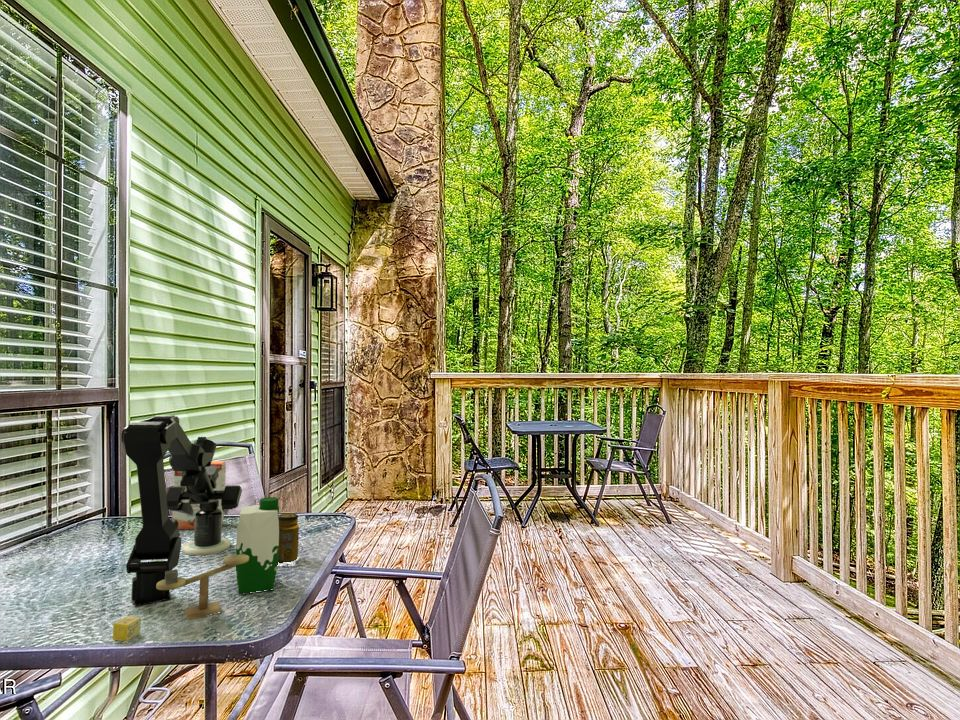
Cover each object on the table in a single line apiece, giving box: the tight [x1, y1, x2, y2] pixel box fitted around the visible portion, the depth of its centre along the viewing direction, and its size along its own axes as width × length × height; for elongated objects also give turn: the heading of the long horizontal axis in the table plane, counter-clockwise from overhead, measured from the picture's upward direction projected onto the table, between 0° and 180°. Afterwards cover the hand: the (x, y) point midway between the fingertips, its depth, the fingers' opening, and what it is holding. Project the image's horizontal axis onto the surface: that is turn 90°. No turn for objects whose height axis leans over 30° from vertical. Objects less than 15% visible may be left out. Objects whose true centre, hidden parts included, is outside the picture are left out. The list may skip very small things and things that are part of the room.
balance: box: [156, 554, 249, 621], centre depth 106 cm, size 17×5×10 cm, turn 126°
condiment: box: [278, 512, 300, 563], centre depth 137 cm, size 7×8×12 cm
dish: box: [181, 537, 231, 556], centre depth 146 cm, size 12×12×1 cm
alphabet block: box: [112, 615, 142, 642], centre depth 96 cm, size 3×3×3 cm
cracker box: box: [171, 460, 227, 530], centre depth 167 cm, size 14×6×21 cm, turn 104°
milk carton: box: [235, 496, 280, 595], centre depth 120 cm, size 9×9×20 cm
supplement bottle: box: [193, 499, 223, 547], centre depth 146 cm, size 7×7×12 cm
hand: (209, 513), depth 148 cm, fingers open, 9 cm apart
